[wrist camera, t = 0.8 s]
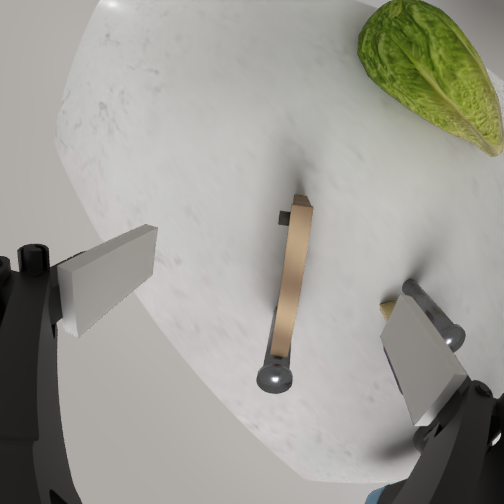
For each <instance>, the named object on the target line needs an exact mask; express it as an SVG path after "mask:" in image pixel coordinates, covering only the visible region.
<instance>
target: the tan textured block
mask: <svg viewBox="0 0 504 504" xmlns="http://www.w3.org/2000/svg"><path fill="white" fill-rule="evenodd" d="M395 305H396V302H395V301H391V302H387V303H382V304H380V310H381V312H382V314H383V316H384V318H385V320H386V322H388V320H389V318H390V315H391V313H392V311H393V309H394V307H395Z"/></svg>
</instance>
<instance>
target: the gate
mask: <svg viewBox="0 0 504 504" xmlns="http://www.w3.org/2000/svg"><path fill="white" fill-rule="evenodd" d="M312 214H313V206H311V204H310V202H309V200H308V198H307V196H302V195H294V199H293V204H292V207H291V212H286V211H280V214H279V223H278V224H279V225H287V226H289V231H288V239H287V246H286V253H285V261H284V268H283V275H282V282H281V289H280V295H279V302H278V308H277V315H276V321H275V327H274V334H273V340H272V346H271V352H270V355H273V356H280V357H288V352H289V348H290V343H291V338H292V333H293V328H294V323H295V318H296V313H297V307H298V302H299V296H300V291H301V285H302V279H303V273H304V267H305V261H306V255H307V249H308V242H309V235H310V229H311V221H312Z"/></svg>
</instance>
